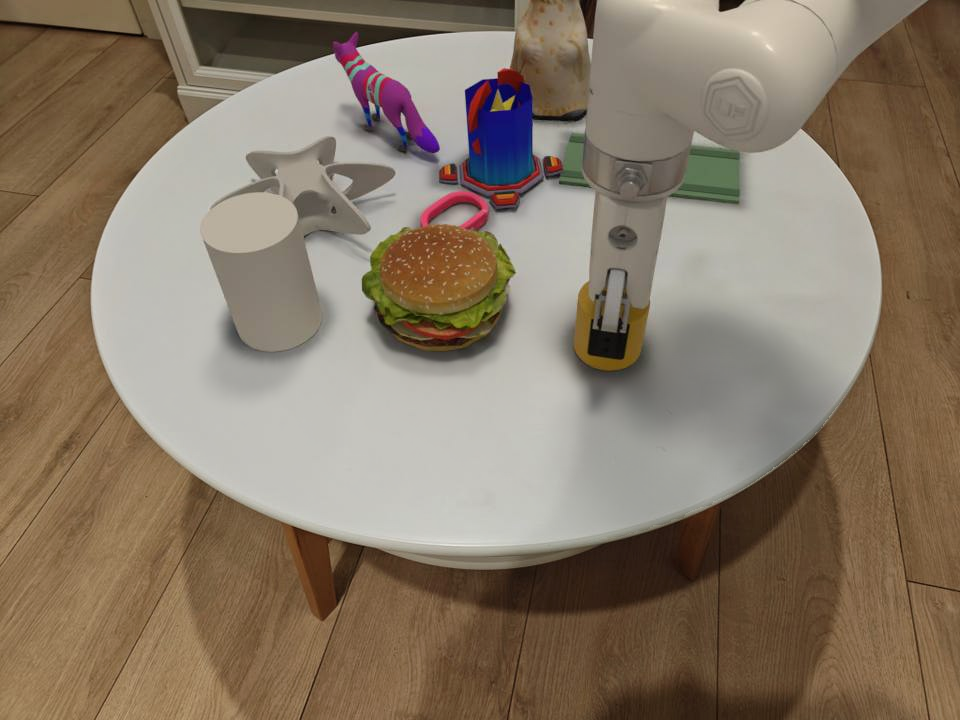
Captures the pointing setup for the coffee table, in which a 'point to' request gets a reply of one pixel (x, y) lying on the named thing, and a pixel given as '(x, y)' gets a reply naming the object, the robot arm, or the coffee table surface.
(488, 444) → the coffee table surface
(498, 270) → the food
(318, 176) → the sculpture
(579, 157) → the green grooved tray
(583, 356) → the yellow stemmed cylinder
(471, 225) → the fitness band
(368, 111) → the magenta toy fox
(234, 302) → the beige solid cylinder
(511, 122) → the fantasy tower
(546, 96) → the figurine
